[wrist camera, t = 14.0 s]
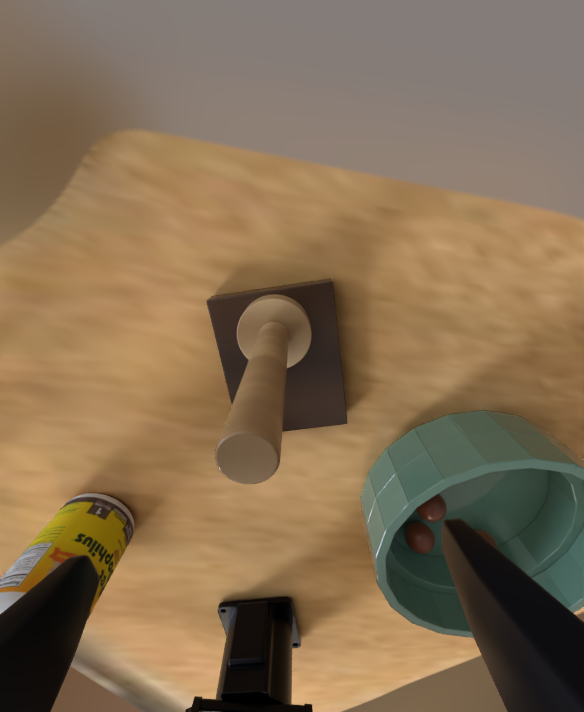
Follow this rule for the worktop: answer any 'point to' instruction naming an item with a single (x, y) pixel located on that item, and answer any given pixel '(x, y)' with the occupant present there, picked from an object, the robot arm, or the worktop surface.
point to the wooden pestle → (262, 387)
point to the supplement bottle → (72, 544)
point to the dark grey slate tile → (307, 377)
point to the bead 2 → (419, 537)
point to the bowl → (475, 510)
